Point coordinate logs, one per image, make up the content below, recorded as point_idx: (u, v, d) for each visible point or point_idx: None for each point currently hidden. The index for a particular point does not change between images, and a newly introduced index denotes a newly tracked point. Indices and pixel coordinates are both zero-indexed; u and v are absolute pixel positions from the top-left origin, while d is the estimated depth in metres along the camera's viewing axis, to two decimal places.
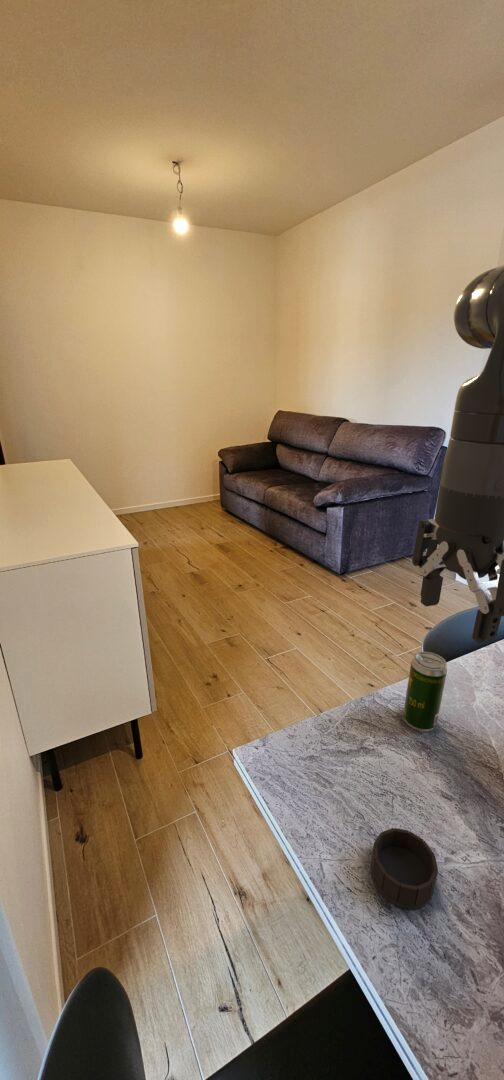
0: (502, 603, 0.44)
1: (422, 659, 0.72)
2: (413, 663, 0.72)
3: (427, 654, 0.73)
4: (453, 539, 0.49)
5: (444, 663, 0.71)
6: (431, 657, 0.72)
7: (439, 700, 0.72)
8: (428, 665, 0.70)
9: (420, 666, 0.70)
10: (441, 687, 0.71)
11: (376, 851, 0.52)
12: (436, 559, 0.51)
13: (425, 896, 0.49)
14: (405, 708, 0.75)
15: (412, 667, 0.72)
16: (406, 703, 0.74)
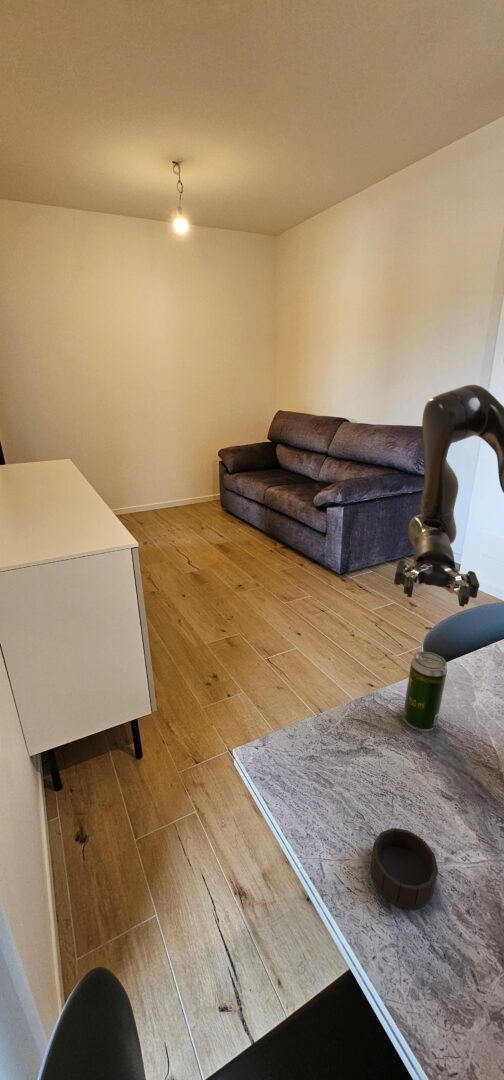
0: None
1: (422, 659, 0.72)
2: (413, 663, 0.72)
3: (427, 654, 0.73)
4: None
5: (444, 663, 0.71)
6: (431, 657, 0.72)
7: (439, 700, 0.72)
8: (428, 665, 0.70)
9: (420, 666, 0.70)
10: (441, 687, 0.71)
11: (376, 851, 0.52)
12: None
13: (425, 896, 0.49)
14: (405, 708, 0.75)
15: (412, 667, 0.72)
16: (406, 703, 0.74)
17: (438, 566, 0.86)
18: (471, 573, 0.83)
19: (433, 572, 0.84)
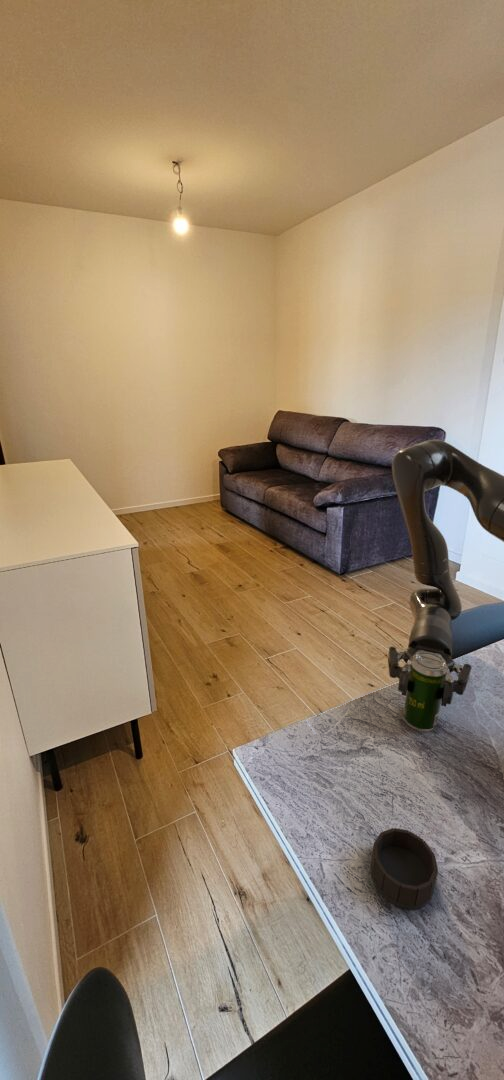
0: None
1: (422, 659, 0.72)
2: (413, 663, 0.72)
3: (427, 654, 0.73)
4: None
5: (444, 663, 0.71)
6: (431, 657, 0.72)
7: (439, 700, 0.72)
8: (428, 665, 0.70)
9: (420, 666, 0.70)
10: (441, 687, 0.71)
11: (376, 851, 0.52)
12: None
13: (425, 896, 0.49)
14: (405, 708, 0.75)
15: (412, 667, 0.72)
16: (406, 703, 0.74)
17: None
18: (466, 666, 0.76)
19: None
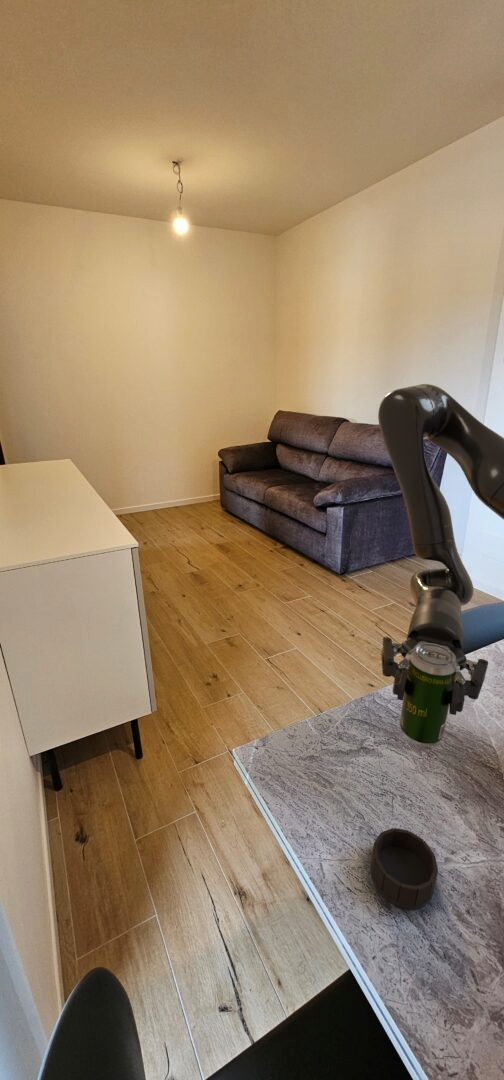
0: None
1: (424, 653, 0.55)
2: (412, 658, 0.55)
3: (431, 646, 0.56)
4: None
5: (453, 658, 0.54)
6: (436, 650, 0.55)
7: (447, 707, 0.55)
8: (432, 660, 0.53)
9: (421, 662, 0.53)
10: (449, 689, 0.54)
11: (376, 851, 0.52)
12: None
13: (425, 896, 0.49)
14: (402, 716, 0.58)
15: (411, 663, 0.55)
16: (403, 709, 0.57)
17: None
18: (481, 663, 0.59)
19: None
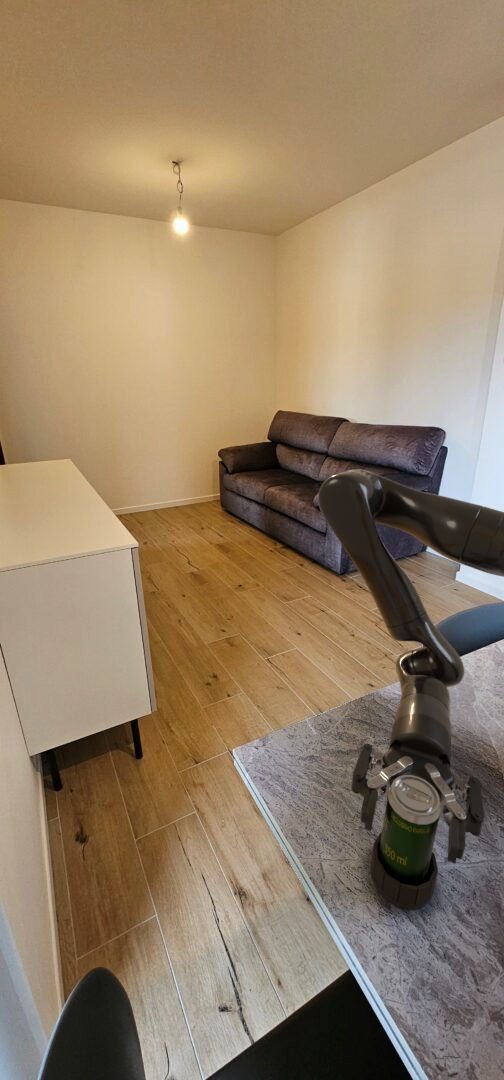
0: None
1: (404, 790, 0.49)
2: (390, 797, 0.48)
3: (412, 780, 0.49)
4: None
5: (436, 799, 0.47)
6: (417, 787, 0.49)
7: (429, 853, 0.48)
8: (412, 805, 0.47)
9: (400, 806, 0.47)
10: (432, 836, 0.47)
11: (376, 851, 0.52)
12: None
13: (425, 896, 0.49)
14: (380, 855, 0.51)
15: (389, 803, 0.48)
16: (381, 849, 0.51)
17: (423, 761, 0.56)
18: (473, 783, 0.53)
19: None
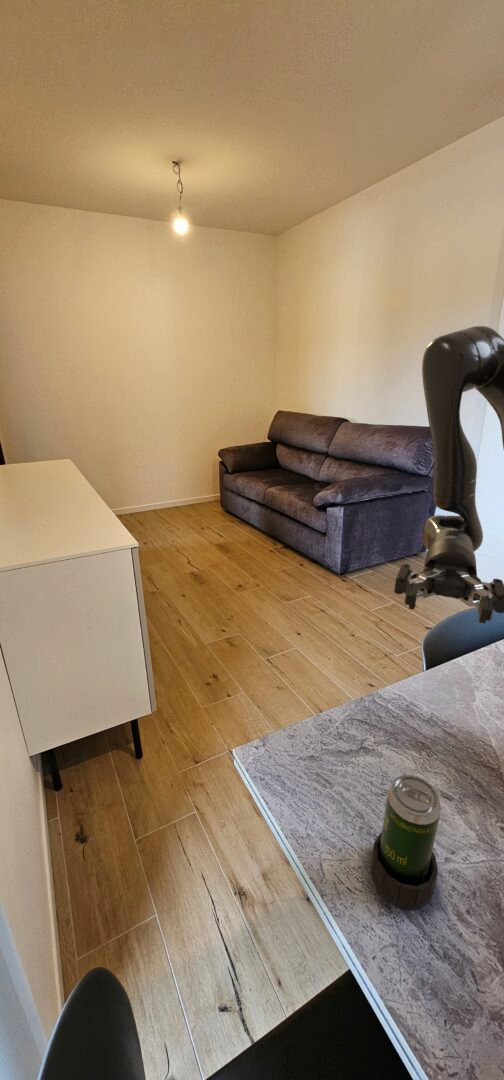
0: None
1: (404, 790, 0.49)
2: (390, 797, 0.48)
3: (412, 780, 0.49)
4: None
5: (436, 799, 0.47)
6: (417, 787, 0.49)
7: (429, 853, 0.48)
8: (412, 805, 0.47)
9: (400, 806, 0.47)
10: (432, 836, 0.47)
11: (376, 851, 0.52)
12: None
13: (425, 896, 0.49)
14: (380, 855, 0.51)
15: (389, 803, 0.48)
16: (381, 849, 0.51)
17: (454, 572, 0.67)
18: (497, 581, 0.63)
19: (446, 579, 0.64)
